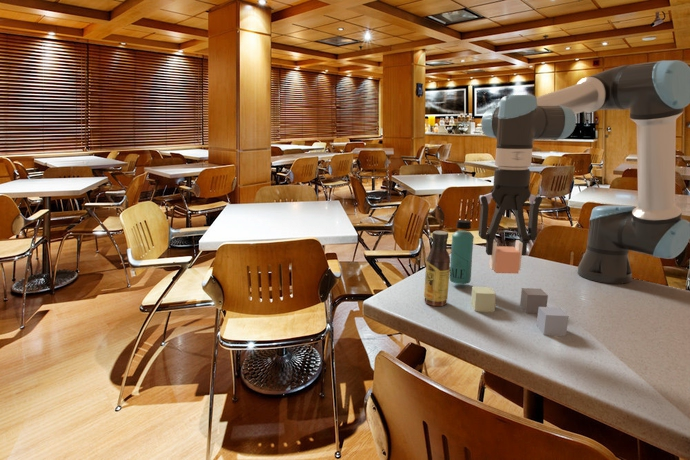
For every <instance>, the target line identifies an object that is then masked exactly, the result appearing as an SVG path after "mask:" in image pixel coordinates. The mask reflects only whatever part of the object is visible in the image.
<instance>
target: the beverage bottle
mask: <svg viewBox="0 0 690 460" xmlns="http://www.w3.org/2000/svg"><path fill="white" fill-rule="evenodd" d="M455 227H456V229H460V230H456V231H455V232H454V233H452V238H451V247H450V255H449V256H450V273H449V281H450V282H451V283H454V284H458V285H466V284H470V283H471V280H472V268H473V264H472V263H473V248H474V237H475V236H474V235H473V233H472V232H470V231H468V230H470V229H471V228H472V223H471V221H470V220H467V219H466V220H465V219H460V220H459V219H458V220H457V221H456V226H455Z"/></svg>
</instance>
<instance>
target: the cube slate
mask: <svg viewBox="0 0 690 460" xmlns="http://www.w3.org/2000/svg"><path fill="white" fill-rule="evenodd" d="M568 323H569V315H568V314H567V313H566V312H565V311H564V310H563V309H562V307H559V306H558V307H557V306H556V307H553V306H547V307H539V308H538V313H537V320H536V328H538V330H539V331H540V332H541V334H542V335H543V336H557V337H559V336H560V337H566V336H567V332H568V326H569V325H568Z"/></svg>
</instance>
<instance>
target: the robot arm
mask: <svg viewBox="0 0 690 460" xmlns="http://www.w3.org/2000/svg"><path fill="white" fill-rule="evenodd" d="M689 105H690V66H689V65H688V63H686V62H685V61H683V60H678V59H677V60H674V59H673V60H665V59H664V60H658V61H657V60H656V61H651V62H650V61H649V62H648V61H647V62H641V63H634V64H625V65H619V66H615V67H613V68H610V69H606V70H604V71H603V70H602V71H600V72H598V73H595V74H593V75H589V76H587V77H584V78H581V79H580V80H579V81H577V83H576V84H574V85H573V84H572V85H570V86H568V87H563V88H561V89H558V90H555V91H551V92H549V93H545V94H542V95H539V96H536V95H533V94H512V95H511V94H510V95H505V96H502V98H501V99H500V102H499V107H498V106H497V107H495V108H494V107H493V108H489V109H487V110H486V111H485V112H484V113H483V115H482V118H481V122H480V124H481V125H480V126H481V131H482V133H483V135H485V136H486V137H488V138H493V139H496V150H495V158H494V159H495V161H494V165H495V166H496V167H497V168H495V169H494V170H493V171H494V174H493V186H492V189H491V191H490V192H489V193H487V194H484V195H483V194H480V195H478V200H479V203H480V211H479V222H478V223H479V225H478V236H479V237H480V238H481V239H482V240H485V241H486V243H485V253H486V255H488V256H489V263H488V267H489V268H490V270H491V271H494V270H495V261H496V251H497V246H498V242H497V241H496V240H495V238H496V236H497V232H498V230H499V226H500V224H501V221H502V218H503V215H504V214H505V212H506V211H509V210H512V211H513V212H514V216H515V220H516V221H515V222H516V226H517V232H518V238H519V239H516V240H515V246H514V247H515V248H516V249H517V250H518V251H519V252H520V261H519V271H521V267H522V256H526V254H527V248H528V247H527V246H528V243H530V241H533V240H534V241H535V240H536V239H537V234H538V223H539V222H538V221H539V211H540V210H539V209H540V206H541V203H542V202H543V198H542V196H540V195H537V194H536V195H535V194H532V193H531V191H530V184H531V183H530V180H531V172H532V171H531V170H530V169H529V168H530V167H531V166H532V159H533V158H532V157H533V148H534V147H533V145H534V141H536V140H537V141H558V140H564V139H566V138H568V137H569V136H571V134H572V133H573V132H574V130H575V128H576V125H577V117H576V115H577V114H579V113H584V112H585V113H593V112H598V111H601V110H603V111H605V110H623V111H624V110H629V120H631V121H632V122H634V123H635V124H636V158H637V159H636V163H637V164H636V165H637V206H636V207H635V205H628V204H627V205H626V204H625V205H624V204H621V205H620V204H615V205H614V204H613V205H598V206H595V207H593V209H592V210H591V214H590V218H589V226H588V235H587V242H586V244H587V245H586V250H585V253H584V254H583V256H582V258H581V260H580V262H579V264H578V266H577V275H579V276H580V277H581V278H584V279H587V280H590V281H594V282H599V283H604V284H612V285H613V284H615V285H616V284H617V285H618V284H619V285H621V284H628V283H630V282H632V275H633V274H632V273H633V272H632V269H631V264H630V260H629V251H631V252H635V253H638V254H644V255H648V256H651V257H654V258H660V259H666V260H667V259H668V260H669V259H671V260H673V259H674V258H676V257H678V256H679V255H680V254H681V253H682V252H684V250H685V248H686V247H687V246H688V243H689V241H690V221H689V220H687V219H685V218H682V213H683V212H682V209H681V208H680V207H679V206H678V205H676V151H677V150H676V147H677V146H676V145H677V142H676V141H677V140H676V138H677V137H676V132H677V131H676V130H677V129H676V128H677V119H678V118H679V117H680V116H681V115H683V113H684V108H687V106H689ZM491 200H493V201H494V202H495V204H496V205H495V207H494V208H495V209H494V213H493V216H492V219H491V222H490V224H489V227H488V222H489V221H488V220H489V204H491ZM528 200H529V201H528ZM527 201H528V202H529V203H528V204H530V205H529V208H528V209H529V213H528V224H527V225H528V226H527V227H526V222H525V215H524V211H525V210H524V207H523V206H524V205H525V204H526V203H527Z"/></svg>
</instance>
